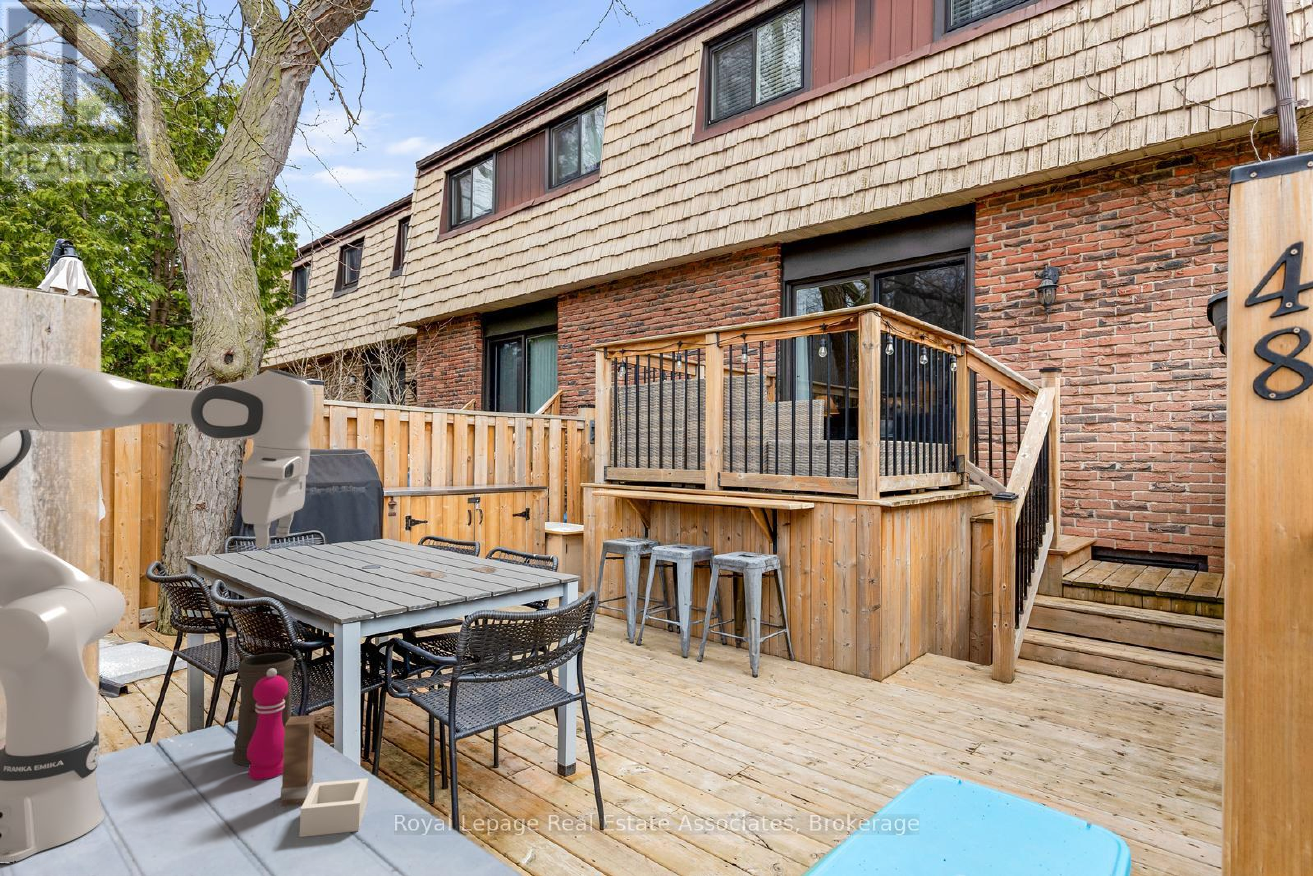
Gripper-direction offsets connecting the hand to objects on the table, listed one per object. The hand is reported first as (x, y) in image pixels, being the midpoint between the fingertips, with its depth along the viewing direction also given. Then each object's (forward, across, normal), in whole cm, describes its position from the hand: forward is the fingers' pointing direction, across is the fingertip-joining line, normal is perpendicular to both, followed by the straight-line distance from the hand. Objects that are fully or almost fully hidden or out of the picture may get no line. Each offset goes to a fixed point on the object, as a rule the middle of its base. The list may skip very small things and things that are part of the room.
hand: (272, 541), depth 119 cm
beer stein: (+49, -22, -5) cm, 54 cm away
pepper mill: (+48, -12, 0) cm, 49 cm away
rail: (+46, 0, +8) cm, 47 cm away
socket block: (+45, +8, +17) cm, 49 cm away
